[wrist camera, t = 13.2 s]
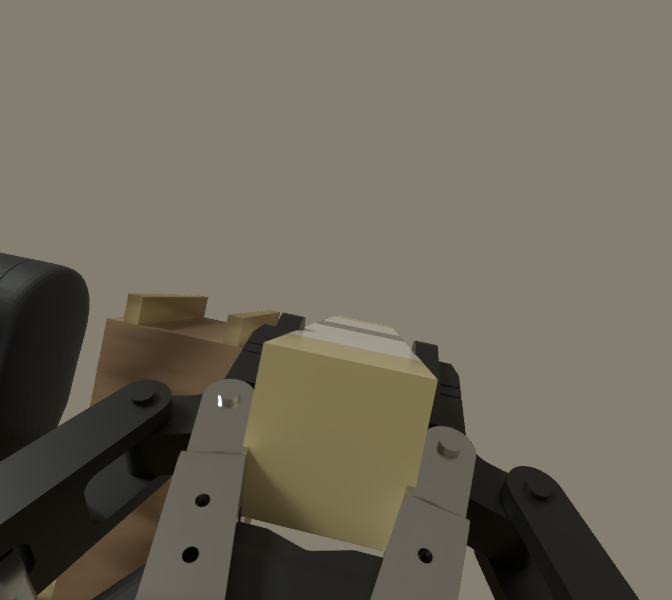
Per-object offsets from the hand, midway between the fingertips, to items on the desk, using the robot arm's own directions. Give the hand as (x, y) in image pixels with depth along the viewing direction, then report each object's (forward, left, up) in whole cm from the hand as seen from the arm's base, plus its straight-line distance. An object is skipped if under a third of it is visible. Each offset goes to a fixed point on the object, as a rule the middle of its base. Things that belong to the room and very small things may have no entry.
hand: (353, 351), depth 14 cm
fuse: (0, +5, -3) cm, 6 cm away
